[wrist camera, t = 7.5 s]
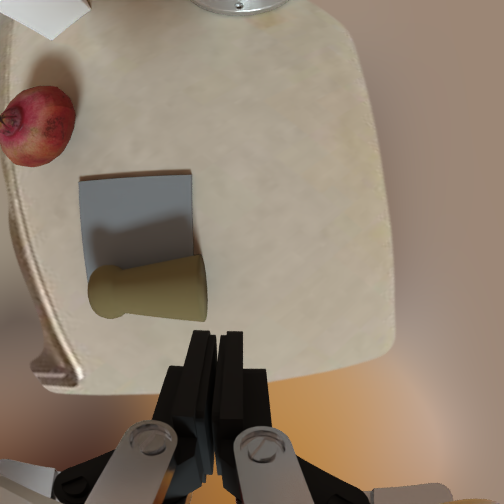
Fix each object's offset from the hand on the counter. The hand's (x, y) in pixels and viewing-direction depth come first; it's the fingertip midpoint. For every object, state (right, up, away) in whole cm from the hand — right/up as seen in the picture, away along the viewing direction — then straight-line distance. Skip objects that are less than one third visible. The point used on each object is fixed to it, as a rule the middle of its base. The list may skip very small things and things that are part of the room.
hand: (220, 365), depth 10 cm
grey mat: (-11, +4, +19) cm, 22 cm away
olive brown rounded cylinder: (-3, +1, +17) cm, 17 cm away
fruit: (-19, +17, +15) cm, 30 cm away
